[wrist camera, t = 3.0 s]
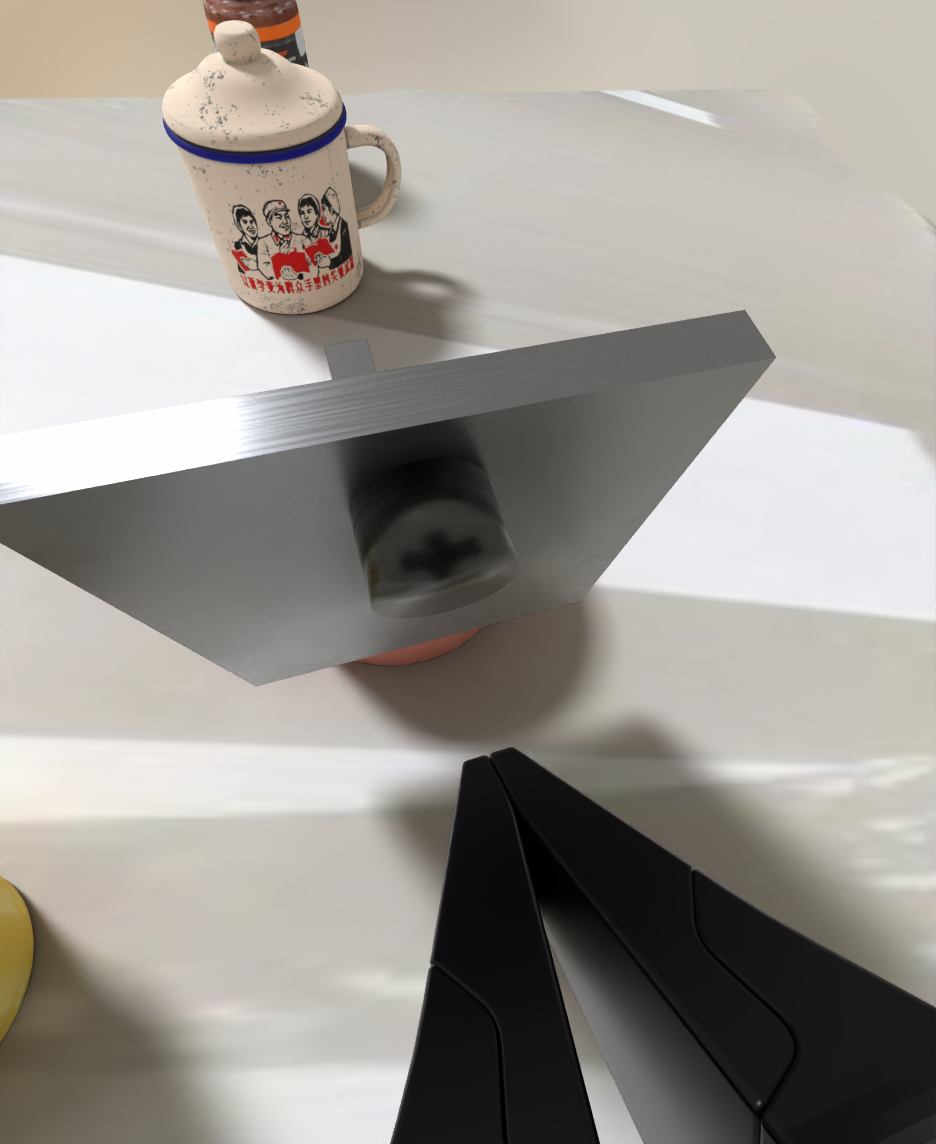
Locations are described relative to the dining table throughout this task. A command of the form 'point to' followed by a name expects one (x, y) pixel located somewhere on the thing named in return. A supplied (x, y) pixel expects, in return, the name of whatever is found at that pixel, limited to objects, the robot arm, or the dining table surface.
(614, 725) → the dining table surface
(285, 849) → the dining table surface
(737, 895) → the robot arm
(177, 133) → the teacup with lid
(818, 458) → the dining table surface
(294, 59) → the supplement bottle
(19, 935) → the plant pot
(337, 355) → the cooker pot
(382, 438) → the lid
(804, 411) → the dining table surface
